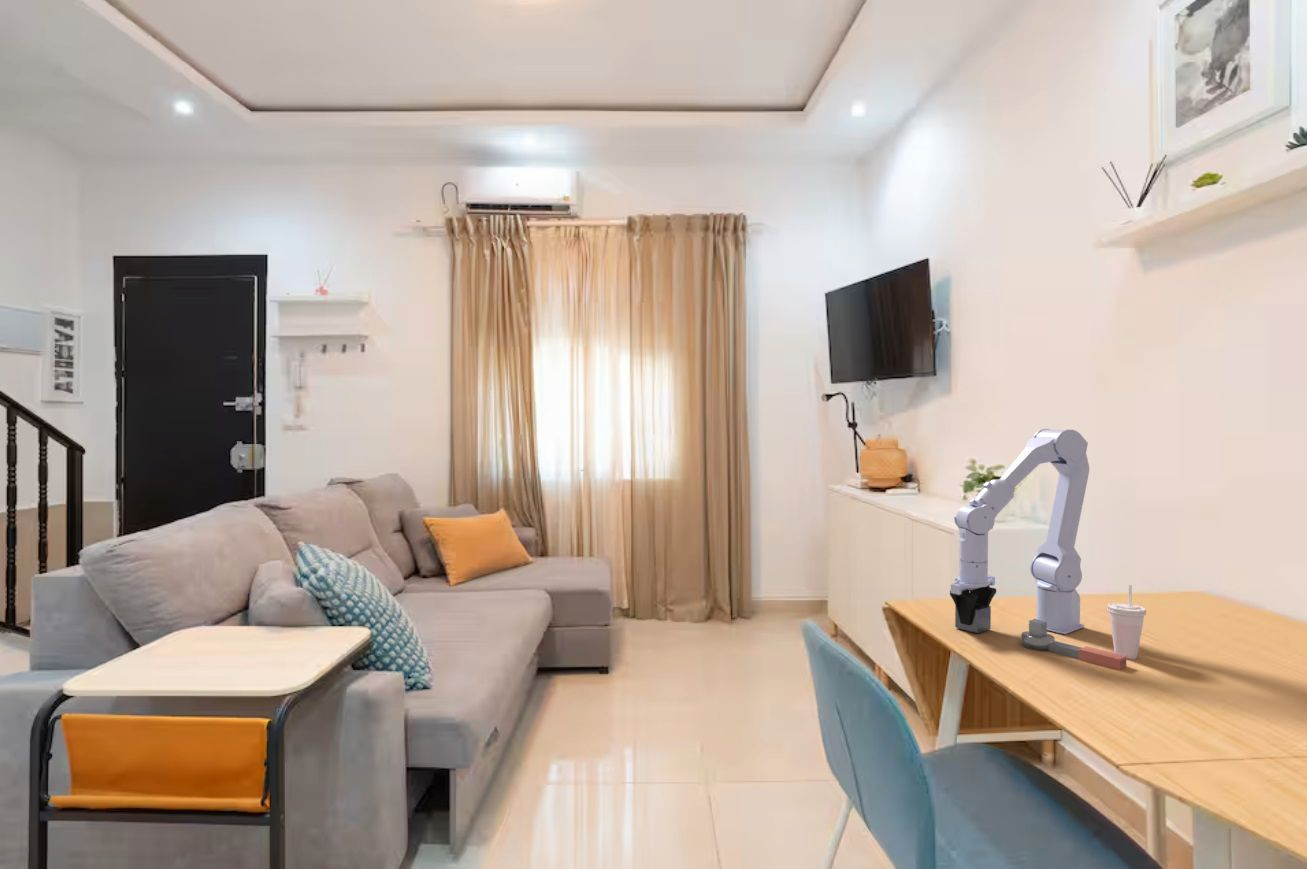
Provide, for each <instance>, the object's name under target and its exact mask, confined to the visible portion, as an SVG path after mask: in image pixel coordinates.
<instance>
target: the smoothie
mask: <svg viewBox="0 0 1307 869" xmlns="http://www.w3.org/2000/svg"><path fill="white" fill-rule="evenodd" d="M1127 588H1128V591H1127V592H1128V594H1127V595H1128V598H1127V603H1125V602H1111V603H1110V602H1109V603H1108V604H1107V608H1106V609H1107V611H1108V612H1109V620H1110V628H1111V636H1112V644H1113V653H1116V654H1120V655H1125V656H1127V658H1126V660H1127V659H1128V660H1135V659H1138V655H1139V649H1140V648H1139V647H1140V642H1141V638H1142V637H1141V636H1142V630H1143V624H1144V618H1145V616H1147V608H1146V607H1144V606H1141V605H1136V604H1132V599H1133V598H1132V596H1133V595H1132V594H1133V593H1132V592H1133V590H1132V589H1133V585H1132V584H1128V587H1127Z"/></svg>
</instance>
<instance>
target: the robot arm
mask: <svg viewBox="0 0 1307 869" xmlns="http://www.w3.org/2000/svg"><path fill="white" fill-rule="evenodd" d="M1088 445H1089V443H1088V441H1087V440H1086V439H1085V438H1084V436H1083V435H1082V434H1081V433H1080V432H1079V431H1077V430H1075V429H1051V428H1041V429H1039V430H1037V431H1036V432H1035V433H1034V435H1033V437H1031V438H1029V439H1028V440H1027V442H1026V444H1025V448H1024V449H1023V450H1022V451H1021V453H1019V455H1018V456H1017V458H1015V460H1014V461H1013V462H1012V463H1011V465H1010V466H1009V467H1008V468H1007V470H1006V471H1005V472H1004V473H1003V475H1002V476H1001V477H1000V478H999V479H991V480H990V481H985V483H983V485H982V486H983V488H982V490H980V491H979V493H978V494H977V495H976V496H975V497H974V498H971V499H970V500H969V502H968V503H969V504H967V505H963V506H962V507H960V508H959V509H958V511H957V513H956V516H955V517H953V520H954V523H955V525H956V527H957V528H958V530H959V531H958V532H959V550H958V552H959V554H958V556H959V558H958V561H959V568H958V573H959V575H958V576H956V577H954V583H950V590H949V595H950V597H951V598H952V600H953V603H954V605H956V608H957V611H958V615H959V619H960V623H961V624H965V625H971V623H972V617H973V609H974V605H975V603H978V604H982V605H987V606H990V605H991V602H992V600H993V598H994V596H995V595H996V594H997V589H996V588H995V587H991V586H995V585H996V582H995V580H996V577H995V576H994V575H992V576H991V575H989V574H988V572H989V570H988V569H989V568H988V567H989V560H988V559H989V532H990V531H991V530H993V528H994V526H995V522H996V521H995V519H996V517H997V516H998V515H999V513H1000V512H1002V511H1003V509H1004V508H1005V507H1006V506H1007V505H1008V504H1009V503H1010V502H1011V501H1012V500H1013V498H1014V497H1015V492H1014V491H1015V490H1014V489H1016V487H1017V486H1018V485H1020V483H1021V482H1022V481H1024V480H1025V479H1026V478H1027V476H1029V475H1030V474H1031V472H1033V471H1034V470H1035V469H1036V468H1037V467H1038V466H1040V465H1041V464H1045V463H1051V465H1052V466H1053V468H1054V469H1055V470H1056V471H1057V472H1058V473H1059V475H1058V480H1057V484H1056V485H1057V486H1056V488H1055V489H1056V490H1055V494H1054V495H1055V496H1054V500H1053V505H1052V509H1051V515H1050V520H1049V526H1048V530H1047V535H1046V540H1045V542H1043V543H1042V544H1040V545H1039V546H1038V547H1037V550H1036V554H1035V556H1034V558H1032V560H1031V562H1030V566H1029V569H1030V570H1029V571H1030V574H1031V576H1032V577H1033V578H1034V579H1035V584H1036V607H1035V608H1036V613H1035V615H1036V616H1035V619H1038V620H1042V621H1046V622H1047V631H1049V632H1054V633H1057V634H1063V635H1068V634H1069V633H1072V632H1075V631H1078V630H1080V629H1082V628H1085V624H1082V623H1081V597H1080V594H1079V592H1078V591H1077V588H1078V587H1079V585H1080V584H1081V582H1082V579H1083V573H1082V570H1081V569H1082V568H1081V562H1082V557H1081V556H1080V554H1079V553H1078V552H1077V550H1076V548H1075V544H1076V541H1077V540H1076V539H1077V535H1078V529H1079V525H1080V519H1081V514H1082V509H1083V505H1084V499H1085V495H1086V490H1087V489H1086V488H1087V484H1088V478H1089V475H1090V463H1089V460H1088V455H1087V449H1088ZM1027 626H1029V623H1027Z"/></svg>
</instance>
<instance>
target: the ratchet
mask: <svg viewBox="0 0 1307 869" xmlns="http://www.w3.org/2000/svg"><path fill="white" fill-rule="evenodd" d="M1028 624H1029V625H1028V631H1023V632H1021V633H1020V634H1021V635H1020V636H1021V638H1020V642H1021V643H1020V644H1021V646H1022V647H1024V648H1026V649H1028V650H1031V651H1032V650H1033V651H1037V652H1038V651H1039V652H1051V653H1054V654H1058V655H1060V656H1061V655H1063V656H1066V657H1070V658H1074V659H1077V660H1079V661H1084V662H1088V663H1090V664H1095V665H1097V666H1098V665H1099V666H1102V667H1107V668H1110V669H1115V670H1118V671H1120V670H1121V669H1124V668H1126V667H1127V659H1126V658H1127V656H1125V655H1120V654H1116V653H1114V652H1113V651H1112V652H1111V651H1108V650H1104V649H1099V648H1095V647H1092V646H1084V647H1082V646H1077V645H1072V644H1069V643H1065V642H1061V641H1056V640H1055V638H1056V637H1055V635H1052V634H1049V633H1048V630H1047V622H1046V621H1042V620H1038V619H1036V618H1034V619H1030V620H1029V621H1028Z"/></svg>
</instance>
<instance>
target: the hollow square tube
mask: <svg viewBox="0 0 1307 869" xmlns="http://www.w3.org/2000/svg"><path fill="white" fill-rule="evenodd" d="M954 605H955V604H954ZM991 609H992V607H991V606H990V605H989V606H987V605H982V604H978V603H975V605H974V609H973V617H972V623H971V625H965V624H961V623H960V619H959V615H958V611H957V608H956V605H955V608H954V611H955V613H954V616H955V619H954V620H955V623H954V624H955V625H954V627H956V629H959V630H964V631H966V632H967V631H968V632H971V633H975V634H980V633H983V632H985V631H989V630H991V624H992V623H991V621H992V620H991V618H992V617H991V615H992V614H991V613H992V610H991Z"/></svg>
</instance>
